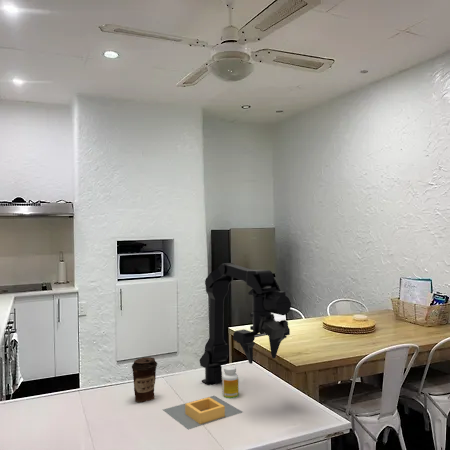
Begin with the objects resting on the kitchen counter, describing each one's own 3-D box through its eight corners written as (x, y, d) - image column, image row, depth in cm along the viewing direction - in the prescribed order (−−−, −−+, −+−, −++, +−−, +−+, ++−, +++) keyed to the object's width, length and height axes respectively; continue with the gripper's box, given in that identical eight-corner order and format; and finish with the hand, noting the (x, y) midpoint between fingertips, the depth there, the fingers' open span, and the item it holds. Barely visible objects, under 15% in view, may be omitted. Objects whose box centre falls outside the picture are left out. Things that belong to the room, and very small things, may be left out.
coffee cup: (160, 402, 134) (160, 362, 135) (134, 406, 131) (134, 365, 132) (154, 393, 142) (154, 355, 143) (130, 396, 139) (129, 357, 140)
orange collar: (185, 413, 124) (185, 403, 124) (209, 406, 129) (209, 397, 129) (200, 424, 117) (199, 413, 117) (224, 416, 122) (224, 406, 122)
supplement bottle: (241, 398, 137) (241, 368, 137) (226, 401, 134) (226, 371, 135) (234, 393, 142) (233, 364, 142) (219, 395, 139) (219, 366, 140)
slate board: (162, 411, 127) (162, 409, 127) (214, 397, 138) (214, 395, 138) (188, 431, 114) (188, 429, 114) (243, 414, 125) (243, 412, 125)
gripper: (254, 318, 118) (255, 373, 117) (301, 310, 128) (302, 361, 128) (231, 312, 127) (232, 363, 126) (277, 306, 137) (278, 353, 137)
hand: (262, 360), depth 129 cm, fingers open, 9 cm apart
